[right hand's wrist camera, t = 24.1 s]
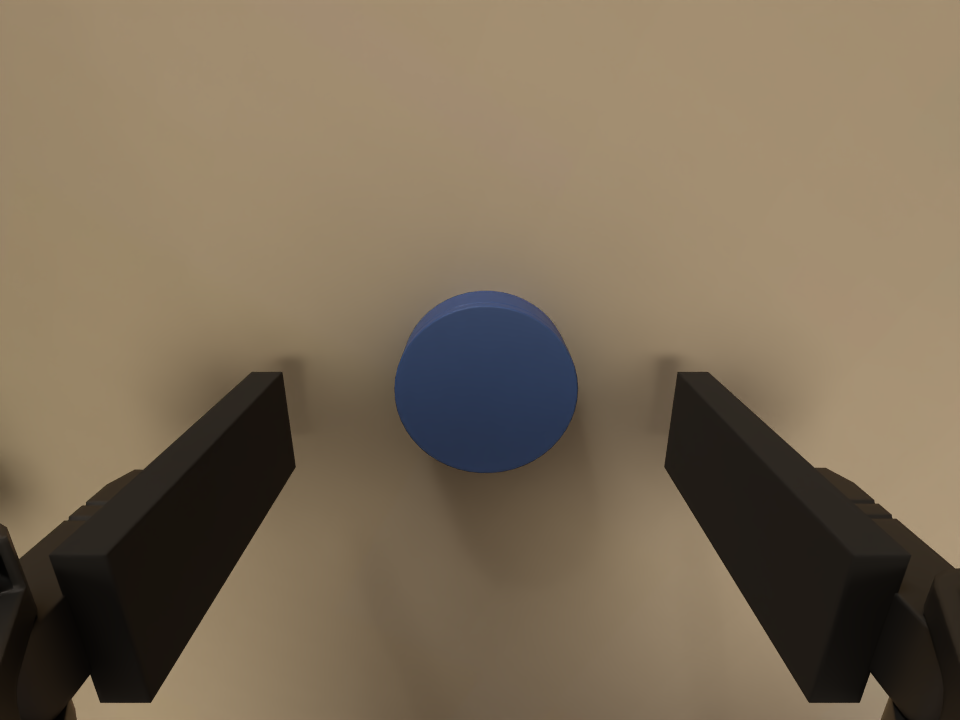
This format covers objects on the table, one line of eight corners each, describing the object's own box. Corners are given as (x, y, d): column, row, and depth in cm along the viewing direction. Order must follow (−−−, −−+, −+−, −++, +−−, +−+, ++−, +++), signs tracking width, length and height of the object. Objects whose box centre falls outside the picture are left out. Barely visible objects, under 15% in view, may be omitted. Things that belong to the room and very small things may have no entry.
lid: (450, 465, 16) (447, 498, 14) (372, 334, 14) (359, 355, 13) (592, 404, 15) (605, 431, 14) (526, 260, 14) (532, 272, 12)
